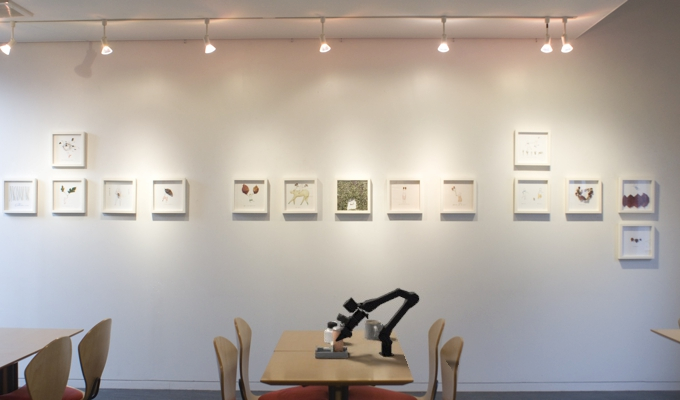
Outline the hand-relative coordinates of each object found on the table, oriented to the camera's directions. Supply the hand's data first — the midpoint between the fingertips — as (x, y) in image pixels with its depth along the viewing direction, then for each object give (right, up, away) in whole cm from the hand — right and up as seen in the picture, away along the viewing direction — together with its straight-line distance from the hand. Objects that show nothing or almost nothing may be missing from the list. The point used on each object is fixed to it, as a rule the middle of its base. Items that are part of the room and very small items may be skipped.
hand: (335, 339), depth 256 cm
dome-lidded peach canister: (+1, -7, 0) cm, 7 cm away
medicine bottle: (-2, -9, +25) cm, 27 cm away
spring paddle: (-4, -8, 0) cm, 9 cm away
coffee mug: (+23, -9, +33) cm, 41 cm away
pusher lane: (-2, -8, 0) cm, 9 cm away
